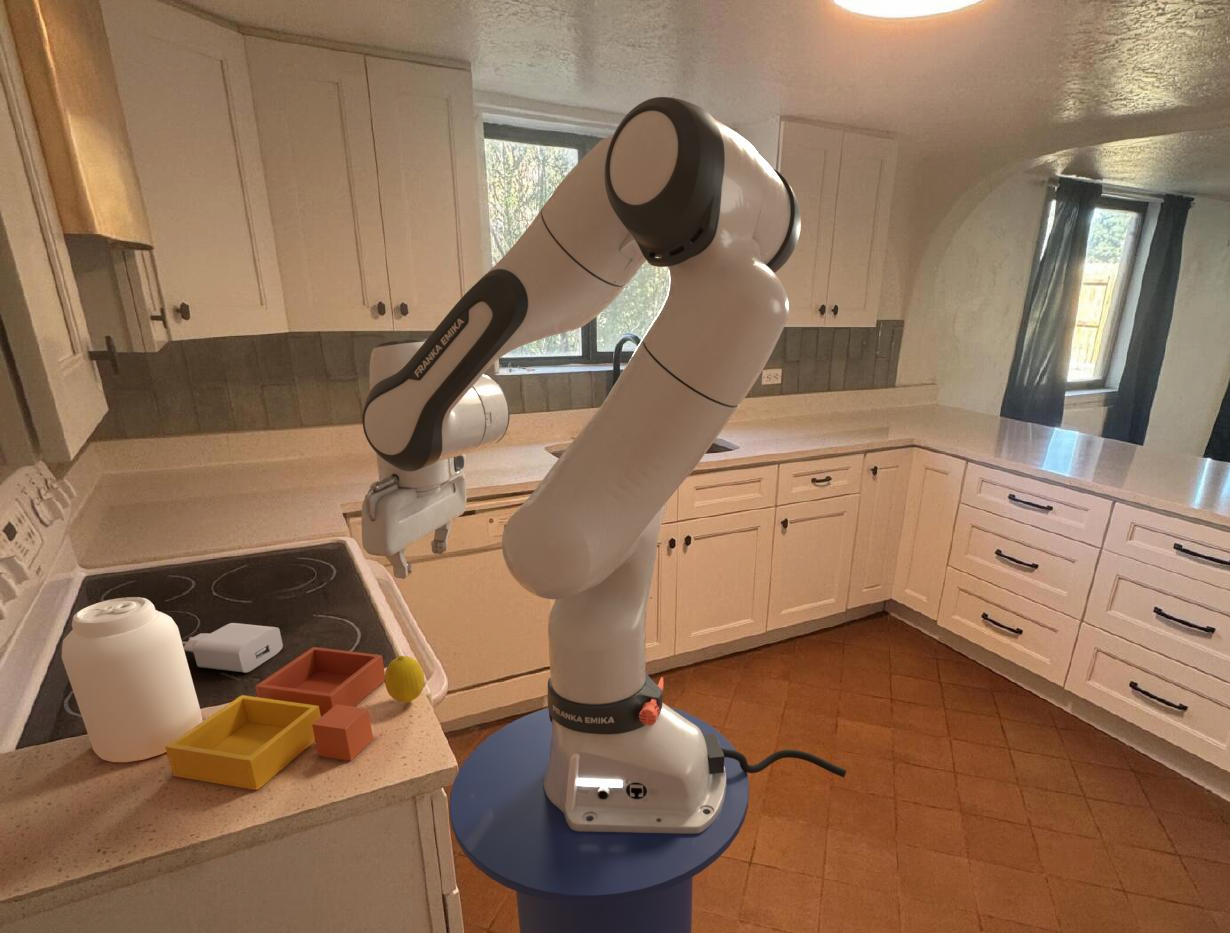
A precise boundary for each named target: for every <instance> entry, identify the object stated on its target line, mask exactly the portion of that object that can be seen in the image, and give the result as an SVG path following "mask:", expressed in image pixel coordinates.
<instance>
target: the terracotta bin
mask: <svg viewBox="0 0 1230 933" xmlns="http://www.w3.org/2000/svg"><path fill="white" fill-rule="evenodd" d="M385 673H386V670H385V665H384V660H383V655H382V654H376V653H366V652H358V651H350V650H342V649H335V648H334V649H332V648H326V647H317V646H312V647H311V648H309V649H308V650H306V651H305V652H303V653H302V654H300V655H299V656H298V657H296V658H294V659H293V660H291V661H290V662H289V663H287V664H286V665H284V666H283V667H281V668H280V669H278V670H276V672H273V674H271V675H270V676H268V677H267V678H265V679H263V680H262V681H261V682H259V683H257V684H256V685H255V686H254V689H255V693H256V697H259V698H266V699H273V700H280V701H287V702H295V703H302V704H309V705H316V706H319V710H320V715H321V717H322V716H323V715H324V714H325V713H327V712H328V711H329V710H330V709H331V708H333V707H334V706H335V705H344V706H351V707H357V705H358V704H360V703H361V702H362V701H363V700H364V699H365V698H367V697H368V696H369V695H370V694H371V693H372V692H374V691H375V690H376V689H377V688H378V687H379V686H381V685H382V684H384V683H385Z"/></svg>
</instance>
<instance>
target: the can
mask: <svg viewBox="0 0 1230 933" xmlns="http://www.w3.org/2000/svg"><path fill="white" fill-rule="evenodd" d="M71 628H72V630H70V632H69V633H67V635H66V636H65V637H64V638H63V640H62V644H61V660H62V663H63V666H64V669H65V671H66V672H65V673H66V675H67V677H68V680H69V683H70V687H71V689H72V692H73V696H74V698H75V701H76V704H77V707H78V710H79V712H80V716H81V718H82V721H83V724H84V728H85V730H86V733H87V735H88V738H89V742H90V744H91V747H92V750H93V753H95V755H97V756H98V757H99V758H100V759H101V760H103V761H107V762H110V763H131V762H137V761H142V760H147V759H151V758H153V757H157V756H161V755H163V754H165V753H167V752H166V748H165V747H166V746H167V745H169V744H170V743H172V742H173V741H175V740H176V739H178V738H179V737H181V736H182V735H184V734H185V733H186V732H188V731H189V730H191V729H192V728H194V727H195V726H197V725H198V724H200V723H201V722H203V721H204V720H203V715H202V710H201V708H200V707H201V706H200V703H199V700H198V695H197V693H196V689H195V685H194V681H193V678H192V674H191V670H190V667H189V663H188V659H187V656H186V651H184V648H183V647H184V644H182V642H183V641H182V637H181V633H180V630H179V627H178V625H177V624H176V622H175V621H174V619H173V618H172V617H171V616H170V615H168V614H167V613H164V612H162V611H159V610H157V609H156V607H155V605H154V604H153V602H152V601H151V600H149V599H147V598H146V597H141V596H140V597H139V596H137V597H136V596H129V597H128V596H126V597H119V598H113V599H107V600H103V601H100V602H97V603H94V604H91V605H89V606H86V607H84V608H81V609H80V610H78V611H77V612H76V613H75V614H74V615H73V617H72V620H71Z"/></svg>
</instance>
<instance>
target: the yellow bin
mask: <svg viewBox="0 0 1230 933" xmlns="http://www.w3.org/2000/svg"><path fill="white" fill-rule="evenodd" d="M320 717H321V715H320V710H319V706H316V705H309V704H302V703H295V702H287V701H280V700H273V699H266V698H259V697H257V696H250V695H244V694H241V695H240V696H238V697H236V698H235V699H234V700H232V701H231V702H229V703H228V704H226V705H225V706H223V707H222V708H221V709H219V710H218V711H216V712H214V713H213V714H212V715H210V716H208V717H207V718H206V719H204V720H203V721H202V722H201V723H200V724H198V725H197V726H195V727H194V728H192V729H191V730H189V731H188V732H186V733H185V734H184V735H182V736H181V737H179V738H178V739H176V740H175V741H173V742H172V743H170V744H169V745H167V746H166V747H165V748H166V752H165V753H166V755H167V758H168V762H169V764H170V768H171V772H172V775H173V776H174V777H177V778H184V779H190V780H195V781H202V782H207V783H212V784H217V785H224V786H230V787H235V788H242V789H247V790H253V791H258V790H260V789H261V788H262V787H263V786H264V785H266V784H267V783H268V782H269V781H270V780H271V779H272V778H274V777H275V776H276V775H278V773H280V772H281V771H282V770H283V769H284V768H285V767H286V766H288V765H289V764H290V763H291V762H292V761H293V760H294V759H295V758H297V757H298V756H300V754H301V753H302V752H304V751H305V750H306V749H307V748H309V747H310V746H311V745H312V744H313V743H315V742H316V741H315V736H314V732H313V727H312V724H313V723H314V722H316V721H317V720H318V719H319V718H320Z"/></svg>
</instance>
